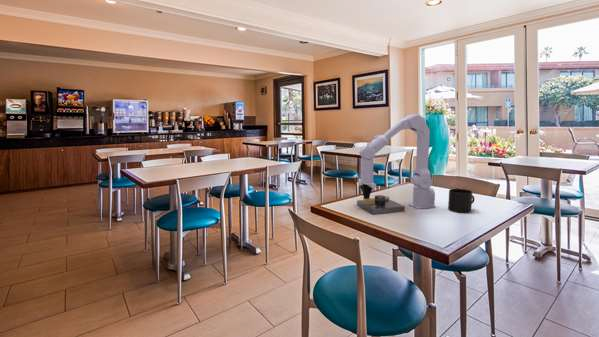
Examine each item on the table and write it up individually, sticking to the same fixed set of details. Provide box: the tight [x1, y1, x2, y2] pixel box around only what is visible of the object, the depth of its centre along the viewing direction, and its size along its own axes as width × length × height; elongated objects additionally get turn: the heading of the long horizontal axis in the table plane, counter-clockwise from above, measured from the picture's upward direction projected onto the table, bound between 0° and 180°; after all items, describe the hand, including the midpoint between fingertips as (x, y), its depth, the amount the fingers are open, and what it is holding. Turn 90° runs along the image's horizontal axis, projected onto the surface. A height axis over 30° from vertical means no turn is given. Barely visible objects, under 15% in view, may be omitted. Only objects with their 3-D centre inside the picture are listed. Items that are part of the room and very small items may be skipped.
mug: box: [448, 188, 475, 214], centre depth 146 cm, size 9×12×9 cm
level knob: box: [362, 194, 386, 204], centre depth 150 cm, size 10×5×3 cm, turn 87°
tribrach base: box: [356, 196, 406, 215], centre depth 151 cm, size 16×16×4 cm
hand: (366, 200), depth 152 cm, fingers closed
